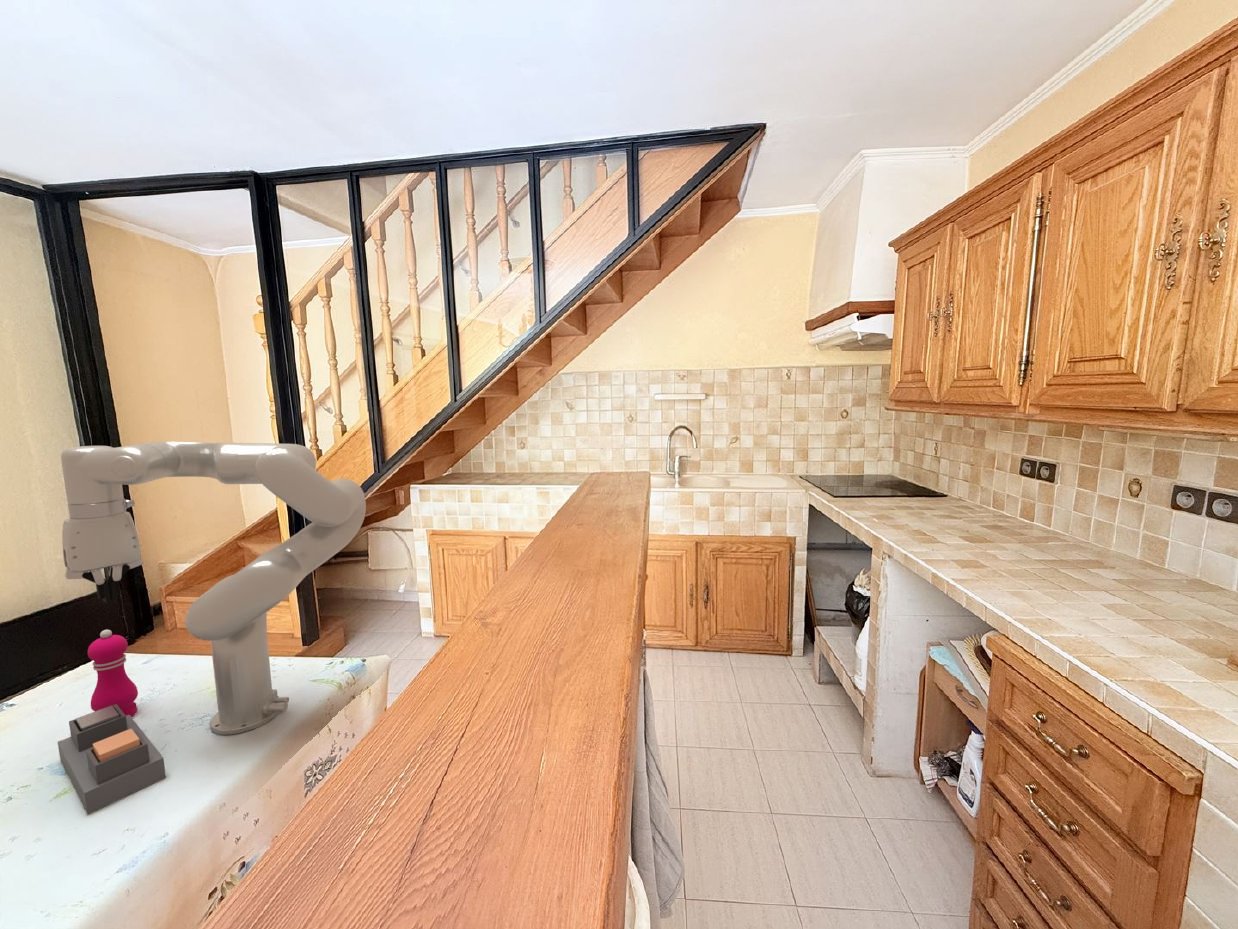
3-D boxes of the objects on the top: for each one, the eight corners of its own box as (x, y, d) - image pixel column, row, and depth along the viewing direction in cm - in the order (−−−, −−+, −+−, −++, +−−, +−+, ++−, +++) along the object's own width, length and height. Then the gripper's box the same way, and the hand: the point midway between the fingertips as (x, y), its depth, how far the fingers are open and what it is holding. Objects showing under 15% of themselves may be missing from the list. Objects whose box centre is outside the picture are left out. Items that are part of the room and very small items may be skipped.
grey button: (120, 728, 97) (118, 714, 97) (83, 743, 93) (81, 728, 93) (113, 719, 100) (111, 705, 100) (77, 733, 96) (75, 718, 96)
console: (166, 777, 91) (161, 740, 90) (87, 815, 83) (81, 774, 82) (131, 732, 104) (127, 699, 103) (60, 761, 95) (54, 724, 94)
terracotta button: (141, 754, 89) (139, 738, 89) (101, 771, 85) (99, 755, 85) (133, 743, 92) (131, 728, 92) (94, 759, 88) (92, 743, 88)
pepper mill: (110, 730, 104) (97, 639, 102) (84, 725, 106) (70, 636, 103) (149, 709, 111) (138, 624, 109) (123, 705, 113) (112, 621, 110)
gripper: (143, 501, 105) (154, 585, 107) (35, 514, 92) (49, 609, 95) (154, 505, 101) (165, 592, 103) (42, 520, 88) (57, 619, 91)
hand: (109, 600), depth 99 cm, fingers closed
